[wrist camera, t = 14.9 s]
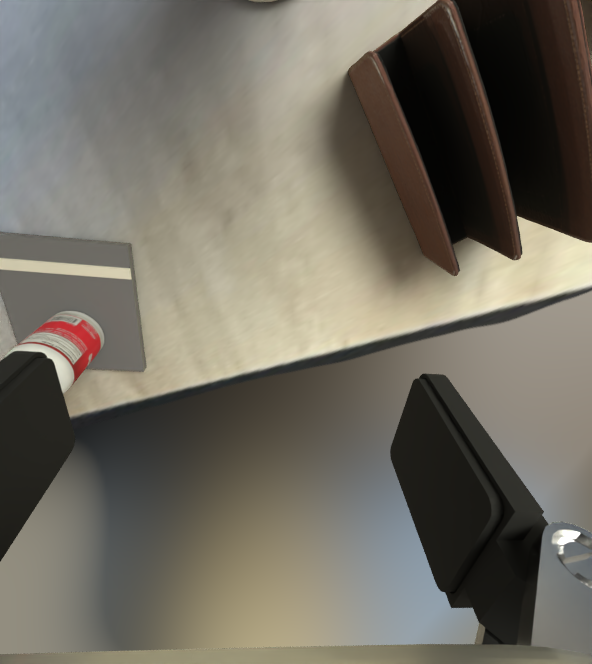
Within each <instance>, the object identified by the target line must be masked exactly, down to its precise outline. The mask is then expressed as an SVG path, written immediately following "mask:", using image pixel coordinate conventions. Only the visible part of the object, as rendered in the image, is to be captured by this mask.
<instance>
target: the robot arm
mask: <svg viewBox="0 0 592 664" xmlns="http://www.w3.org/2000/svg"><path fill="white" fill-rule="evenodd" d="M250 1H254V2H273V1H276V0H250ZM74 443H75V436H74V432H73V428H72V425H71V421H70V417H69V414H68V410H67V407H66V403H65V400H64V396H63V392H62V389H61V385H60V382H59V378H58V375H57V371H56V367H55V364H54V362H53V360H52V359H50V358H47V356H46V355H45V354H44V353H42V352H32V351H13V352H12V353H10V354H9V355H8V356H6V357H5V358H4V359H3V360H1V361H0V561H1V559H2V558H3V557H4V555H5V554H6V552H7V550H8V549H9V547H10V545H11V544H12V543H13V541H14V539H15V538H16V536H17V535H18V533H19V532H20V530H21V529H22V527H23V526H24V524H25V522H26V521H27V520H28V518H29V516H30V515H31V513H32V512H33V510H34V509H35V507H36V505H37V504H38V503H39V501H40V499H41V498H42V496H43V495H44V493H45V491H46V490H47V489H48V487H49V485H50V484H51V482H52V481H53V479H54V478H55V476H56V475H57V473H58V472H59V470H60V468H61V467H62V465H63V464H64V462H65V461H66V459H67V458H68V456H69V454H70V453H71V451H72V449H73V447H74ZM390 453H391V460H392V463H393V466H394V469H395V472H396V474H397V477H398V480H399V483H400V485H401V488H402V491H403V494H404V496H405V499H406V502H407V505H408V507H409V510H410V513H411V516H412V518H413V521H414V524H415V527H416V530H417V532H418V535H419V538H420V541H421V543H422V546H423V549H424V552H425V554H426V557H427V560H428V563H429V565H430V568H431V571H432V574H433V576H434V579H435V582H436V584H437V586H438V588H439V589H440V590H441V591H442V592H445V593H446V595H447V598H448V601H449V603H450V606H451V608H473V609H474V612H475V614H476V616H477V619H478V621H479V626H478V631H477V635H476V640H475V644H474V645H473V644H468V645H467V644H466V645H465V644H464V645H461V644H460V645H459V644H457V645H456V644H455V645H454V644H441V645H440V644H416V645H363V646H313V647H312V646H311V647H265V648H222V649H183V650H182V649H180V650H141V651H102V652H68V653H34V654H2V655H1V654H0V664H592V533H591V532H589V531H588V530H586V529H583V528H581V527H579V526H576V525H574V524H570V523H565V522H552V523H551V524H548V523H547V522H546V520H545V519H544V517H543V516H542V514H543V512H544V511H543V510H542V508H541V507H540V506H539V504H538V503H537V502H536V500H535V499H534V497H533V496H532V495H531V493H530V492H529V490H528V489H527V488H526V486H525V485H524V484H523V482H522V481H521V479H520V478H519V477H518V475H517V474H516V472H515V471H514V470H513V468H512V467H511V466H510V464H509V463H508V461H507V460H506V459H505V458H504V456H503V455H502V453H501V452H500V450H499V449H498V447H497V446H496V445H495V443H494V442H493V440H492V439H491V438H490V436H489V435H488V433H487V432H486V431H485V429H484V428H483V427H482V425H481V424H480V423H479V421H478V420H477V418H476V417H475V415H474V414H473V413H472V412H471V410H470V408H469V407H468V406H467V404H466V403H465V402H464V400H463V399H462V398H461V396H460V395H459V393H458V392H457V391H456V389H455V388H454V386H453V385H452V383H451V382H450V381H449V379H448V378H447V377H446V376H445V375H439V374H422V375H421V376H420V377H419V379H415V380H414V381H413V383H412V386H411V389H410V392H409V395H408V398H407V401H406V404H405V407H404V410H403V413H402V416H401V419H400V422H399V425H398V428H397V431H396V434H395V437H394V440H393V443H392V446H391V451H390Z"/></svg>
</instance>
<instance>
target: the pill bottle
mask: <svg viewBox="0 0 592 664" xmlns="http://www.w3.org/2000/svg"><path fill="white" fill-rule="evenodd" d="M103 344H104V333H103V331H102V329H101V327H100V326H99V324H98V323H97V322H96V321H95V320H94V319H92V318H91V317H89V316H88V315H86V314H84V313H81V312H77V311H63V312H59V313H57V314H55V315H54V316H52V317H51V318H50V319H48V320H47V321H46V322H45V323H44V324H42V325H41V326H40V327H39V328H38V329H36V330H35V331H34V332H33V333H31V334H30V335H29V336H28V337H26V338H25V339H24V340H23V341H21V342H20V343H19V344H18V345H16V346H15V347H14V348H13V349H11V350H10V351H9V352H8V353H7V354H6V356H8V355H9V354H10V353H12V352H13V351H32V352H42V353H44V354H45V355H46V356H47V358H50V359H52V360H53V362H54V364H55V367H56V371H57V375H58V378H59V382H60V385H61V389H62V392H63V394H64V393H65V392H66V391H67V390H68V389H69V388H70V387H71V386H72V385H73V383H74V382H75V381H76V380H77V378H78V377H79V376H80V375H81V373H82V372H83V371H84V370H85V369H86V367H87V366H88V365H89V364H90V362H91V361H92V360H93V359H94V358H95V356H96V355H97V354H98V353H99V351H100V350H101V349H102V347H103ZM6 356H5V357H6ZM5 357H4V358H5Z"/></svg>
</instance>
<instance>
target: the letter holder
mask: <svg viewBox="0 0 592 664" xmlns="http://www.w3.org/2000/svg"><path fill="white" fill-rule="evenodd" d="M348 74H349V76H350V78H351V80H352V83H353V85H354V88H355V90H356V93H357V95H358V98H359V100H360V102H361V105H362V107H363V109H364V112H365V115H366V117H367V119H368V121H369V124H370V127H371V129H372V132H373V134H374V136H375V139H376V141H377V144H378V146H379V148H380V151H381V153H382V156H383V158H384V160H385V163H386V165H387V168H388V170H389V173H390V175H391V178H392V180H393V182H394V185H395V187H396V190H397V192H398V194H399V197H400V200H401V201H402V204H403V206H404V209H405V211H406V214H407V216H408V219H409V221H410V223H411V226H412V228H413V230H414V233H415V235H416V237H417V240H418V242H419V245H420V247H421V249H422V253H423V255H424V256H425V257H426V258H428V259H429V260H431V261H433V262H434V263H435V264H437V265H438V266H440V267H441V268H443V269H444V270H446V271H447V272H448V273H450V274H451V275H453V276H457V275H458V272H459V271H460V269H459V265H458V262H457V259H456V256H455V252H454V249H453V246H452V245H453V244H455V243H457V242H459V241H461V240H463V239H465V238H467V237H468V238H471V239H473V240H475V241H477V242H479V243H481V244H483V245H485V246H487V247H489V248H491V249H493V250H495V251H497V252H499V253H501V254H502V255H504V256H506V257H508V258H510V259H512V260H518V259H520V258H521V255H522V246H521V240H520V232H519V227H518V222H517V216H519V217H522V218H524V219H526V220H529V221H532V222H535V223H537V224H540V225H543V226H545V227H548V228H551V229H554V230H556V231H559V232H561V233H564V234H566V235H569V236H571V237H574V238H577V239H580V240H582V241H585V242H590V243H592V66H591V60H590V53H589V47H588V42H587V36H586V30H585V24H584V17H583V11H582V6H581V1H580V0H438V1H437V2H436V3H435V4H433V5H432V6H431V7H430V8H428V9H427V10H426V11H425V12H424V13H422V14H421V15H420V16H419V17H418V18H416V19H415V20H414V21H413V22H411V23H410V24H409V25H408V26H407V27H405V28H404V29H403V30H402V31H400V32H399V33H397V34H396V35H394V36H393V37H392V38H390V39H389V40H388V41H387V42H385V43H384V44H382V45H381V46H380V47H378V48H377V49H376V50H374V51H373V52H372V51H369V52H367V53H365V54H364V56H363V57H362V58H360V60H359V61H357V62H356V63H355V64H354V65H352V66H351V67H350V68H349V70H348Z"/></svg>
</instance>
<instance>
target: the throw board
mask: <svg viewBox="0 0 592 664" xmlns="http://www.w3.org/2000/svg"><path fill="white" fill-rule="evenodd" d="M0 292H1V295H2V298H3V301H4V304H5V307H6V310H7V313H8V316H9V319H10V322H11V325H12V328H13V331H14V334H15V337H16V340H17V343H18V344H19V343H20V342H21V341H23V340H24V339H25V338H26V337H28V336H29V335H30V334H31V333H33V332H34V331H35V330H36V329H38V328H39V327H40V326H41V325H42V324H44V323H45V322H46V321H47V320H48V319H50V318H51V317H52V316H54V315H55V314H57V313H59V312H63V311H77V312H81V313H84V314H86V315H88V316H89V317H91V318H92V319H94V320H95V321H96V322H97V323H98V324H99V326H100V327H101V329H102V331H103V333H104V344H103V347H102V349H101V350H100V351H99V353H98V354H97V355H96V356H95V358H94V359H93V360H92V361H91V362H90V364H89V365H88V366H87V367H86V369H101V370H120V371H139V372H144V371H145V369H146V360H145V352H144V344H143V336H142V328H141V320H140V312H139V305H138V297H137V289H136V281H135V273H134V265H133V257H132V249H131V244H129V243H118V242H106V241H95V240H84V239H72V238H61V237H49V236H38V235H27V234H15V233H4V232H0Z"/></svg>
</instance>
